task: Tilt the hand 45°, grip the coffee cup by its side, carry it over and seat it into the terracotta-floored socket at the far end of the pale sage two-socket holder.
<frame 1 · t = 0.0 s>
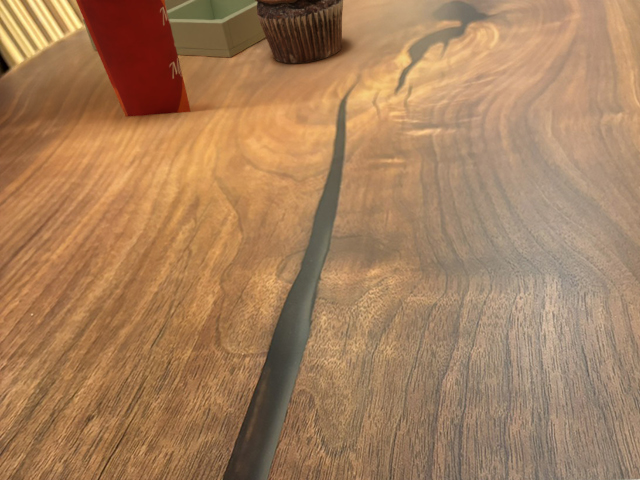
cupcake: (308, 53, 82), on the table
holder: (189, 37, 93), on the table
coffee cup: (161, 124, 71), on the table
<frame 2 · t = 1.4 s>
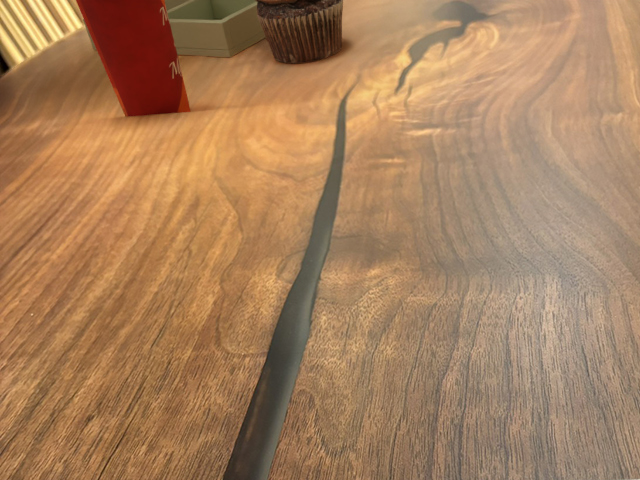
nothing on the table moved.
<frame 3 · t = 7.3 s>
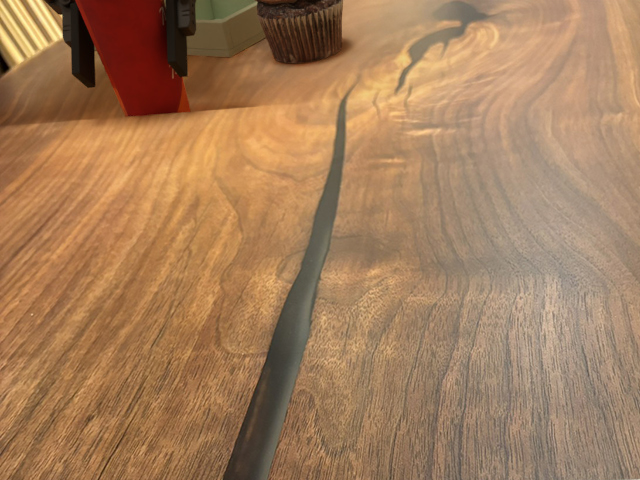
hand: (130, 75, 65), 6 cm above the table, tool tilted 45°, fingers closed on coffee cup, 8 cm apart
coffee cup: (161, 124, 71), on the table, touching gripper
everything else where it was.
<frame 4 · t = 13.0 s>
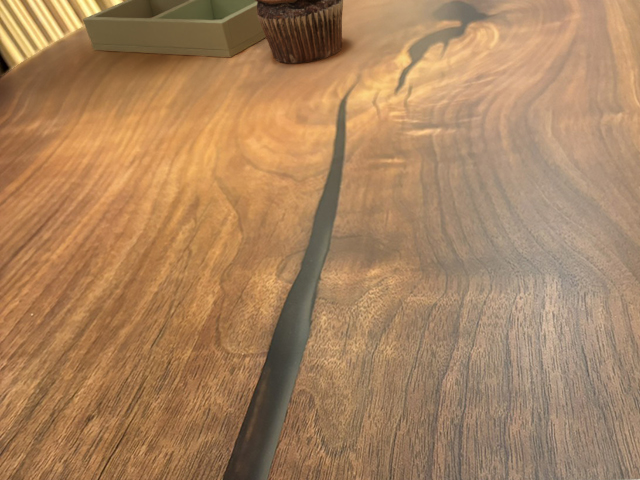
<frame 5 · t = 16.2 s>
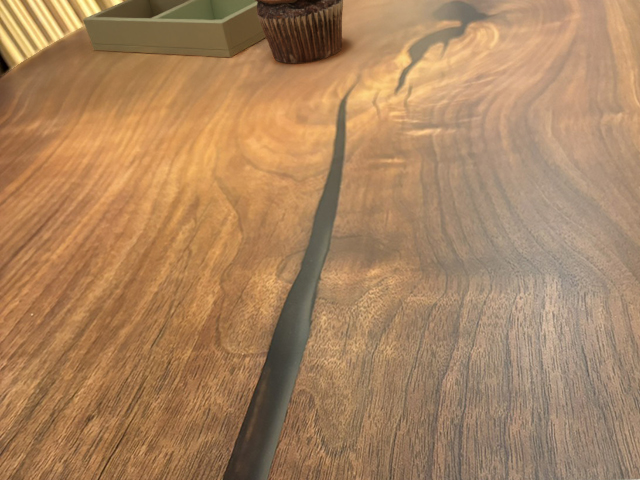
when the fingers open (7 cm above the table, at t = 18.9 s): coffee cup stays where it is, resting on holder.
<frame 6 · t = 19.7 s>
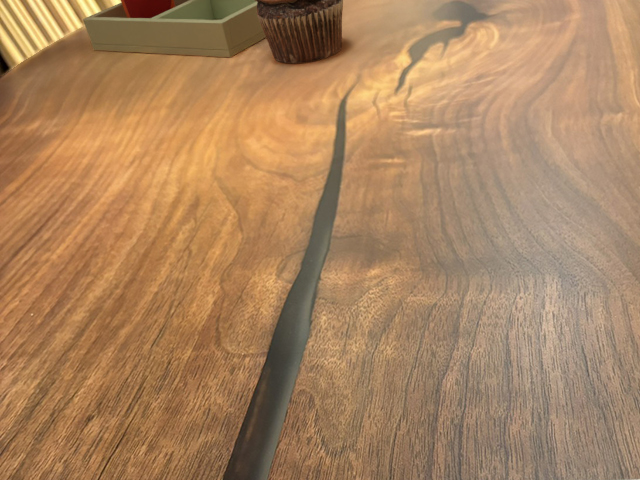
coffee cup: (156, 29, 95), point 1 cm above the table, touching holder
everything else where it was.
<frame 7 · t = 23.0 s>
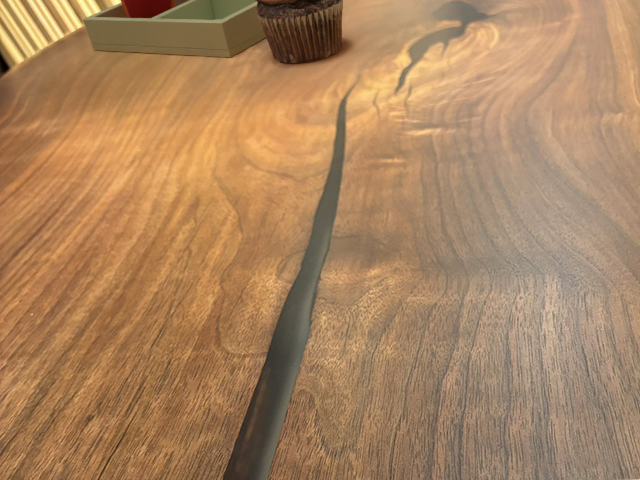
nothing on the table moved.
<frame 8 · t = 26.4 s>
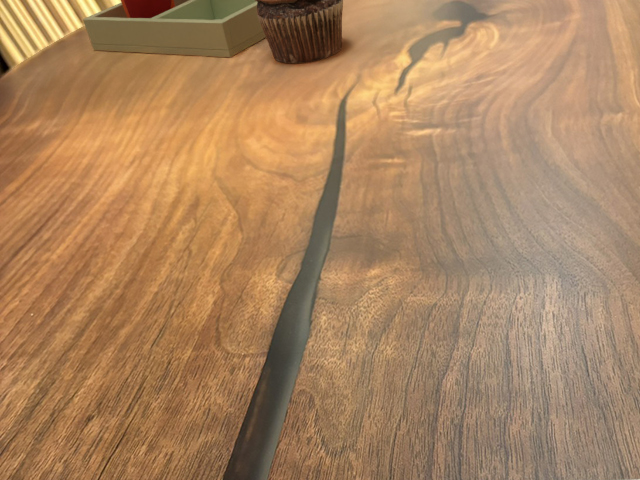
nothing on the table moved.
at the end: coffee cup 0.1 cm from the target spot in the holder, point 0.8 cm above the holder's base; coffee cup tilted 0°; the gripper is holding nothing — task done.
